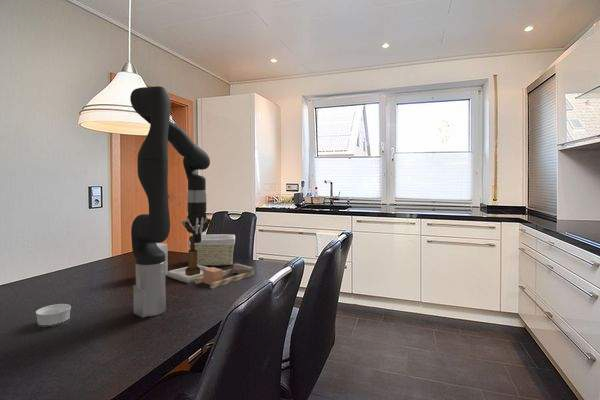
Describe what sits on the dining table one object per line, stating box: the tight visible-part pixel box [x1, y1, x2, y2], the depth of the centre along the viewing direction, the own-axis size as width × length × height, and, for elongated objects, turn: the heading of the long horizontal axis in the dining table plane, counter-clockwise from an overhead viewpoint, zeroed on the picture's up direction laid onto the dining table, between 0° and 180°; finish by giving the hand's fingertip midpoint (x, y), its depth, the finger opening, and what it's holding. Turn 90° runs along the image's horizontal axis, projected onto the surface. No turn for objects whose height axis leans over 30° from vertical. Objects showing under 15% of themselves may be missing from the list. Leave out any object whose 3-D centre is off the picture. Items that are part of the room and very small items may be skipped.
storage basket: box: [187, 233, 236, 267], centre depth 178 cm, size 24×16×15 cm
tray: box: [167, 265, 210, 284], centre depth 154 cm, size 16×16×2 cm
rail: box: [194, 262, 255, 290], centre depth 149 cm, size 24×12×4 cm, turn 143°
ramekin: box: [35, 303, 72, 326], centre depth 103 cm, size 9×9×4 cm
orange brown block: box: [202, 266, 224, 286], centre depth 143 cm, size 5×7×6 cm
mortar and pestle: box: [185, 235, 200, 276], centre depth 153 cm, size 7×6×18 cm
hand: (197, 242), depth 136 cm, fingers closed
